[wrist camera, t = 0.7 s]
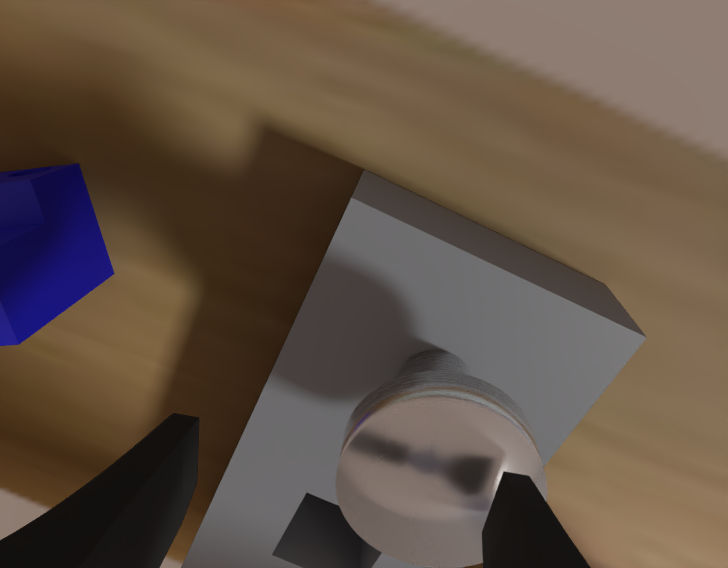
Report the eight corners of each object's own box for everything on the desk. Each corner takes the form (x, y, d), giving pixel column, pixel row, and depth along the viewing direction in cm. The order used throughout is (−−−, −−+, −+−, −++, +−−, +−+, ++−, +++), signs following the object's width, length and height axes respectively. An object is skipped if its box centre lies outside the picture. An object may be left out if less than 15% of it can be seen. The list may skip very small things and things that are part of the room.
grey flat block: (395, 576, 28) (392, 657, 24) (211, 501, 27) (178, 573, 23) (606, 285, 20) (646, 337, 17) (364, 169, 20) (351, 197, 16)
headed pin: (517, 439, 19) (549, 566, 14) (368, 447, 20) (352, 569, 15) (511, 303, 17) (545, 398, 12) (345, 318, 18) (318, 413, 13)
